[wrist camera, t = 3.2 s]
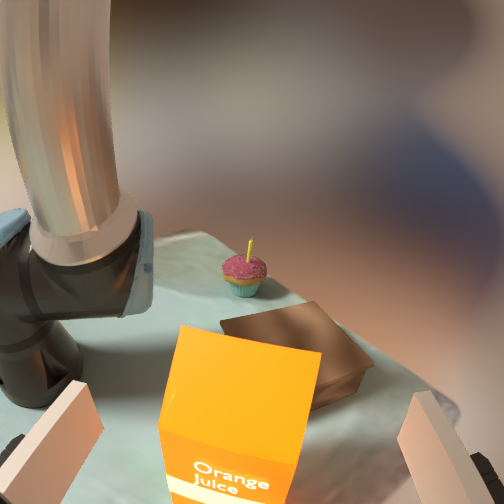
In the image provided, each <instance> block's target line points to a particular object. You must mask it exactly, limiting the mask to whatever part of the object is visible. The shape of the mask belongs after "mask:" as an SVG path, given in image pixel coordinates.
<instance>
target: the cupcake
mask: <svg viewBox="0 0 504 504" xmlns="http://www.w3.org/2000/svg"><path fill="white" fill-rule="evenodd" d="M252 239H253V237H252ZM252 239H251V240H250V241H249V248H248V254H247V255H244V254H243V255H240V254H239V255H236V256H233V257H231V258H230V259H229V258H228V259H227V260H226V262H225V263H224V264H223V265H222V267H221V271H222V275H223V277H224V279H225V281H228V282H229V284H230V286H231V290H232V292H233V294H235V295H236V296H239V297H251V296H253V295H255V294H256V292H257V290H258V287H259V285H260V284H261V282H263V280H264V279H265V278H266V276H267V270H266V265H265V263H264V262H263V261H261V260H260V259H258V258H256V257H253V256H251V252H252V246H253V240H252Z"/></svg>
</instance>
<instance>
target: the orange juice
mask: <svg viewBox="0 0 504 504" xmlns="http://www.w3.org/2000/svg"><path fill="white" fill-rule="evenodd" d="M321 354H322V353H318V352H311V351H305V350H299V349H293V348H287V347H282V346H276V345H271V344H266V343H260V342H255V341H250V340H245V339H240V338H236V337H231V336H226V335H222V334H217V333H213V332H208V331H204V330H200V329H196V328H191V327H187V326H183V325H181V329H180V333H179V337H178V341H177V345H176V349H175V353H174V357H173V361H172V365H171V370H170V374H169V378H168V382H167V387H166V391H165V395H164V400H163V404H162V409H161V413H160V418H159V423H158V428H159V435H160V441H161V447H162V452H163V458H164V463H165V468H166V473H167V474H166V477H167V482H168V486H169V491H170V492H171V496H172V501H173V504H284V502H285V499H286V496H287V493H288V491H289V487H290V484H291V481H292V478H293V475H294V472H295V469H296V466H297V463H298V459H299V454H300V450H301V445H302V440H303V436H304V432H305V428H306V424H307V419H308V415H309V411H310V407H311V402H312V398H313V393H314V388H315V384H316V379H317V374H318V369H319V364H320V359H321Z"/></svg>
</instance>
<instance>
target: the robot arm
mask: <svg viewBox="0 0 504 504" xmlns="http://www.w3.org/2000/svg"><path fill="white" fill-rule="evenodd" d="M110 3H111V0H0V84H1V90H2V96H3V102H4V107H5V113H6V117H7V122H8V126H9V131H10V135H11V139H12V143H13V147H14V151H15V154H16V158H17V161H18V165H19V168H20V172H21V175H22V178H23V181H24V185H25V188H26V190H27V193H28V196H29V199H30V202H31V205H32V208H33V210H34V213H35V215H34V217H33V219H32V222H30V220H31V216H30V215H29V213H28V211H27V210H26V209H21V208H18V209H13V210H9V211H6V212H3V213H1V214H0V388H1V390H2V391H3V393H4V394H5V396H6V397H7V398H8V399H9V400H10V401H12V402H13V403H15V404H17V405H20V406H23V407H29V408H36V407H43V406H47V405H50V404H52V403H53V404H52V405H51V406H50V407H49V408H48V410H47V411H46V412H45V413H44V414H43V416H42V417H41V418H40V419H39V420H38V422H37V423H36V424H35V425H34V426H33V428H32V429H31V430H30V431H29V432H28V434H27V435H26V436H25V435H23V434H21V435H19V436H17V437H16V438H14V439H12V441H11V442H10V443H9V444H8V445H7V447H6V449H4V450H3V451H2V453H1V454H0V504H60V503H61V501H62V499H63V497H64V496H65V494H66V492H67V490H68V489H69V487H70V485H71V483H72V482H73V480H74V478H75V476H76V475H77V473H78V471H79V470H80V468H81V466H82V465H83V463H84V461H85V459H86V458H87V456H88V454H89V453H90V451H91V449H92V448H93V446H94V444H95V443H96V441H97V439H98V438H99V436H100V434H101V433H102V431H103V430H104V427H103V424H102V422H101V420H100V417H99V415H98V412H97V410H96V407H95V404H94V402H93V399H92V396H91V394H90V391H89V388H88V385H87V383H83V382H79V381H78V380H79V378H80V376H81V373H82V368H83V361H82V357H81V354H80V351H79V349H78V346H77V344H76V342H75V341H74V339H73V338H72V337H71V336H70V334H69V333H68V332H67V331H66V329H65V328H64V327H63V326H62V324H61V323H60V322H59V321H58V320H70V319H87V318H105V317H118V318H123V317H125V316H126V315H134V314H141V313H144V312H146V311H147V310H148V309H149V308H150V306H151V304H152V299H153V255H154V248H153V219H152V215H151V214H150V213H149V212H148V211H143V210H141V209H140V210H137V206H136V203H135V200H134V198H133V197H132V195H131V194H130V193H129V192H128V191H127V190H126V189H124V188H123V187H121V186H119V185H118V179H117V171H116V163H115V154H114V144H113V133H112V121H111V106H110V88H109V86H110V85H109V23H110ZM397 440H398V443H399V445H400V448H401V450H402V453H403V456H404V458H405V461H406V463H407V466H408V469H409V471H410V474H411V477H412V479H413V482H414V484H415V487H416V490H417V493H418V496H419V498H420V501H421V504H504V486H503V484H502V483H501V481H500V479H498V475H497V474H496V472H494V469H493V467H492V465H491V463H490V462H489V460H488V459H487V458H486V457H484V456H483V455H482V454H481V453H479V452H478V453H475V454H472V455H470V456H469V454H468V452H467V450H466V448H465V447H464V445H463V443H462V442H461V440H460V438H459V437H458V435H457V433H456V431H455V430H454V428H453V426H452V425H451V423H450V421H449V420H448V418H447V416H446V415H445V413H444V411H443V410H442V408H441V407H440V405H439V403H438V402H437V400H436V399H435V397H434V395H433V394H432V392H431V391H430V390H427V391H421V392H415V393H414V394H413V397H412V400H411V403H410V405H409V408H408V411H407V414H406V417H405V419H404V422H403V425H402V427H401V430H400V432H399V435H398V437H397Z"/></svg>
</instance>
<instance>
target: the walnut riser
mask: <svg viewBox="0 0 504 504" xmlns="http://www.w3.org/2000/svg"><path fill="white" fill-rule="evenodd" d="M220 325H221V327H222V329H223V331H224V333H225V335H226V336H231V337H236V338H240V339H245V340H250V341H255V342H260V343H266V344H271V345H276V346H282V347H287V348H293V349H299V350H305V351H311V352H318V353H322V354H321V359H320V364H319V369H318V374H317V379H316V384H315V388H314V393H313V398H312V402H311V407H310V411H312V410H315V409H317V408H320V407H322V406H325V405H327V404H330V403H332V402H335V401H337V400H339V399H342V398H344V397H346V396H349V395H351V394H353V393H355V392H357V390H358V387H359V385H360V383H361V380H362V378H363V376H364V373H365V371H366V369H368V368H370V367H373V365H374V362H373V361H372V360H371V359H370V358H369V357H368V356H367V355H366V354H365V353H364V352H363V351H362V350H361V349H360V348H359V347H358V346H357V345H356V344H355V343H354V342H353V340H352V339H351V338H350V337H349V336H348V335H347V334H346V333H345V332H344V331H343V330H342V329H341V328H340V327H339V326H338V325H337V324H336V323H335V322H334V321H333V320H332V319H331V318H330V317H329V316H328V315H327V314H326V313H325V312H324V311H323V310H322V309H321V308H320V307H319V306H318V304H317V303H315V301H311V302H307V303H302V304H298V305H294V306H289V307H285V308H280V309H275V310H271V311H266V312H261V313H256V314H251V315H246V316H241V317H236V318H231V319H226V320H221V321H220Z"/></svg>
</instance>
